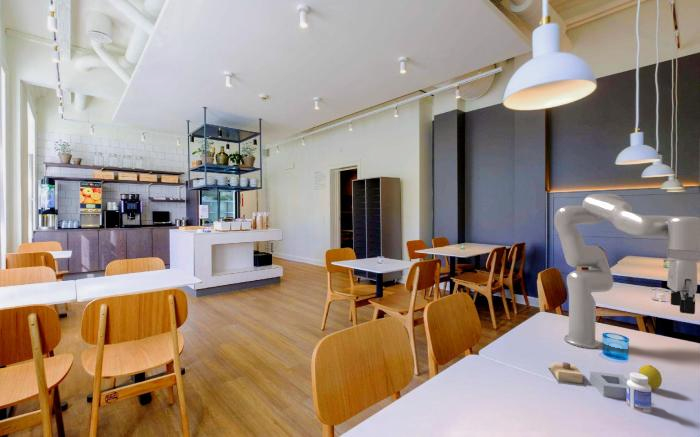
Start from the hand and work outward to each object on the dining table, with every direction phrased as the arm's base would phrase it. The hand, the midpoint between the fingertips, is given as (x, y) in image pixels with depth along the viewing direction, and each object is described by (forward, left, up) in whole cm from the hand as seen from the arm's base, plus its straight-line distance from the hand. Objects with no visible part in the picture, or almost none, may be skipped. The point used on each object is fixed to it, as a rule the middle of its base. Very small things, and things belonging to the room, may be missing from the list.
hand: (682, 309), depth 103 cm
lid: (+1, -32, -26) cm, 41 cm away
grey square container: (+7, -21, -26) cm, 34 cm away
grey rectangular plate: (+1, -32, -26) cm, 42 cm away
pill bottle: (+15, -19, -26) cm, 36 cm away
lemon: (+2, -9, -26) cm, 28 cm away
